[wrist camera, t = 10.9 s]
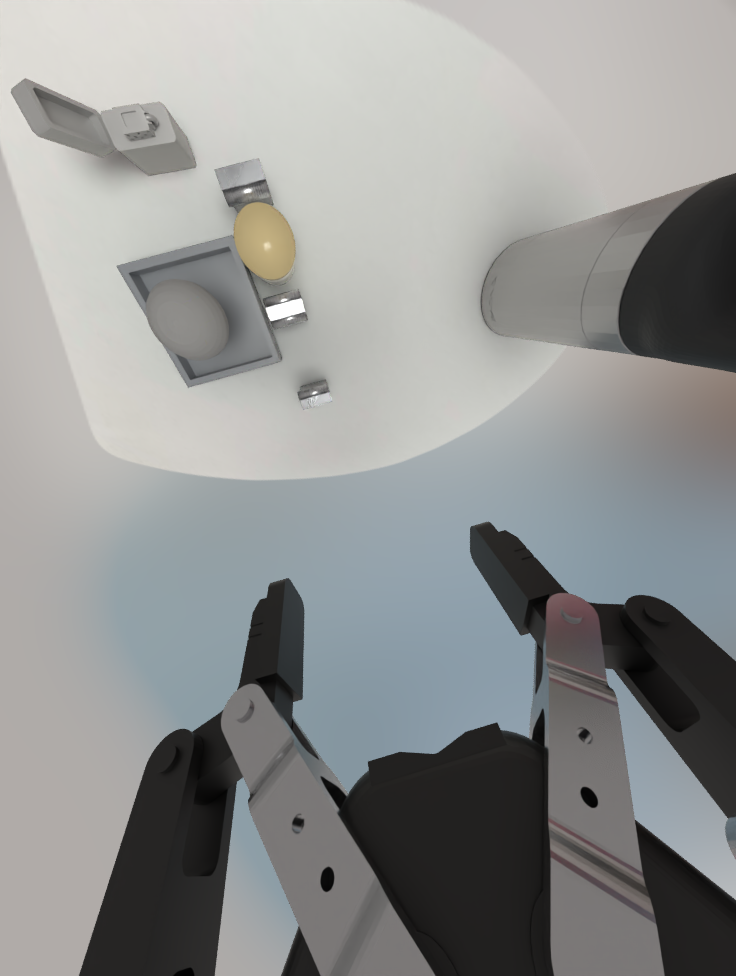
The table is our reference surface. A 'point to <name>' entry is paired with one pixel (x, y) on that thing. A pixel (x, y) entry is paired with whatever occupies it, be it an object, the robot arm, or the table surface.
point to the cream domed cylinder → (265, 242)
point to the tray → (230, 287)
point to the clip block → (283, 309)
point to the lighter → (107, 129)
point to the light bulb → (187, 319)
